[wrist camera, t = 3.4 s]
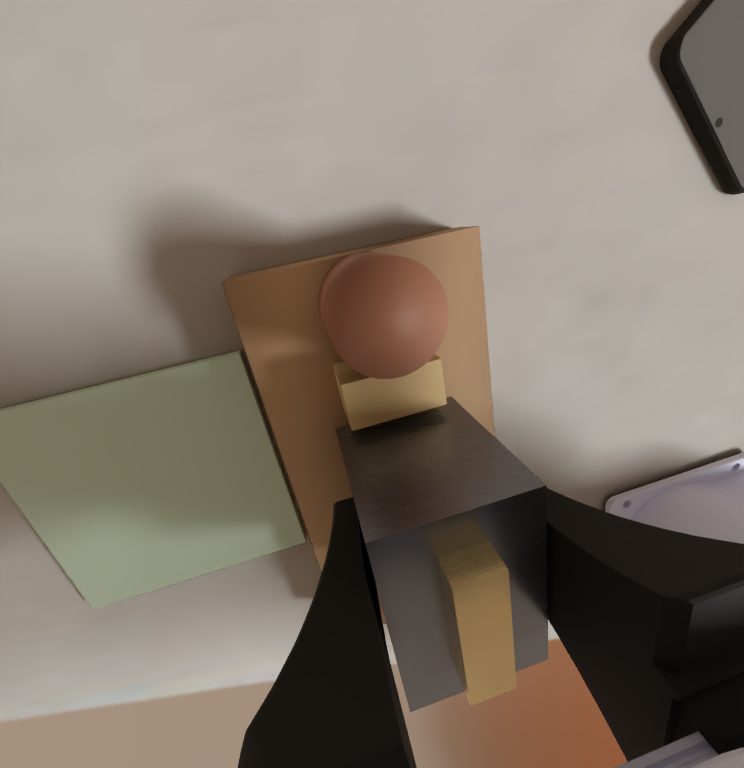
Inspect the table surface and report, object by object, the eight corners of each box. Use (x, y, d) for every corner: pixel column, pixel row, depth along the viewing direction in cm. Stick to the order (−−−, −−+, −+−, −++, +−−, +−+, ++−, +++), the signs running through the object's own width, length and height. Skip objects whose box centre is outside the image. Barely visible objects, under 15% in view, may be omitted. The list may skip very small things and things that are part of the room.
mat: (240, 350, 13) (239, 353, 13) (305, 535, 17) (305, 542, 17) (-34, 417, 12) (-43, 422, 12) (97, 601, 16) (92, 609, 15)
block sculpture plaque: (453, 227, 14) (538, 221, 9) (484, 549, 20) (544, 642, 15) (231, 276, 13) (200, 297, 8) (338, 599, 19) (355, 714, 14)
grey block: (451, 396, 12) (572, 509, 7) (467, 530, 15) (568, 691, 10) (335, 428, 12) (373, 576, 7) (370, 562, 14) (420, 750, 9)
